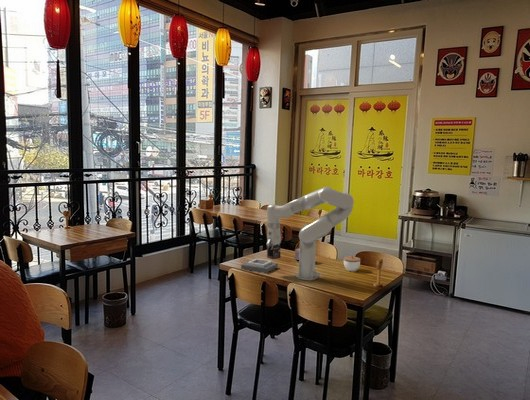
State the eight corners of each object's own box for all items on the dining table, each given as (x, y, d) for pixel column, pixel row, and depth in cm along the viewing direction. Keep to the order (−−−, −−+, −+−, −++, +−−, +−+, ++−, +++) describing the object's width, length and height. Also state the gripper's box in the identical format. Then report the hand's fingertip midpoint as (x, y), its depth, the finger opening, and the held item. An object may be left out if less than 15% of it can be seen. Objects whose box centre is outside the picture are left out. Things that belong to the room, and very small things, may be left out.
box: (272, 259, 239) (272, 247, 238) (266, 257, 244) (266, 245, 243) (280, 258, 242) (280, 246, 242) (274, 256, 247) (274, 244, 247)
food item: (315, 262, 277) (316, 248, 276) (308, 264, 271) (308, 250, 270) (300, 259, 286) (301, 245, 285) (293, 260, 281) (293, 246, 280)
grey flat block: (277, 267, 261) (277, 260, 261) (266, 273, 247) (266, 266, 246) (253, 263, 269) (253, 257, 269) (241, 269, 255) (241, 262, 255)
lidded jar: (339, 269, 260) (340, 255, 259) (349, 267, 267) (349, 253, 266) (354, 273, 252) (354, 258, 251) (363, 270, 260) (363, 256, 259)
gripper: (272, 228, 232) (273, 258, 233) (285, 224, 247) (285, 252, 249) (261, 227, 235) (261, 256, 237) (274, 223, 251) (274, 251, 252)
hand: (273, 254), depth 243 cm, fingers closed on box, 8 cm apart
